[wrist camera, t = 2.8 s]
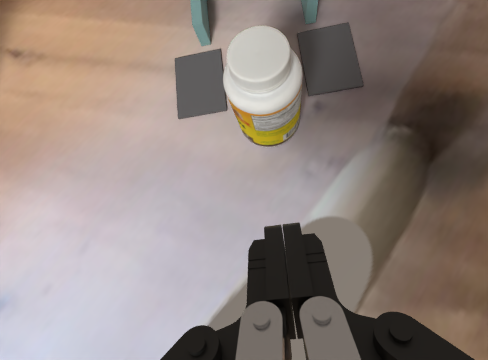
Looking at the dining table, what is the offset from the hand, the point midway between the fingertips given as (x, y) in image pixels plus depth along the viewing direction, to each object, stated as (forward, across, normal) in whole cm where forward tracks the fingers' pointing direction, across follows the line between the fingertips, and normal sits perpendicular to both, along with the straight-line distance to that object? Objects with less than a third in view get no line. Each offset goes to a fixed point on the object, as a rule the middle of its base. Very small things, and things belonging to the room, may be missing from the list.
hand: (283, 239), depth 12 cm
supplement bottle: (+17, 0, +1) cm, 17 cm away
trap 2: (+21, +7, -3) cm, 22 cm away
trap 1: (+21, -6, -3) cm, 22 cm away
